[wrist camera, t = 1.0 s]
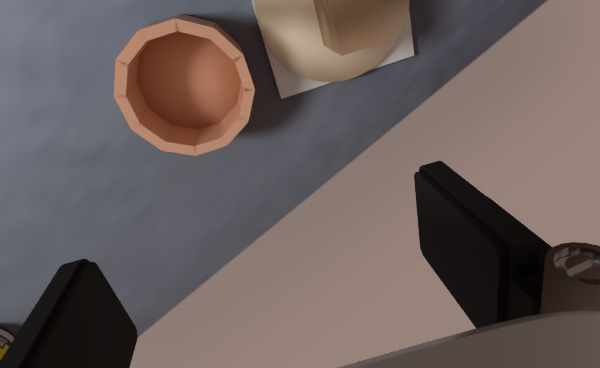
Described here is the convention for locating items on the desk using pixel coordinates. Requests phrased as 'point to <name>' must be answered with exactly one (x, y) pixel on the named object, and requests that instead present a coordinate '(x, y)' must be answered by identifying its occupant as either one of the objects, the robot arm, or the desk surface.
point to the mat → (296, 84)
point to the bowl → (184, 85)
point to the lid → (331, 34)
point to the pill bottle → (5, 342)
